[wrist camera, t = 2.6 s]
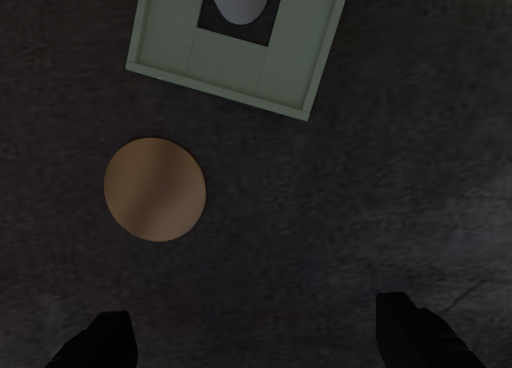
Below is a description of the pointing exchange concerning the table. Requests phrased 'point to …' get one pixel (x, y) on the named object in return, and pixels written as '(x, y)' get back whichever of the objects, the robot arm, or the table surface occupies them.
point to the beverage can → (240, 10)
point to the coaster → (155, 189)
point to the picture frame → (237, 53)
